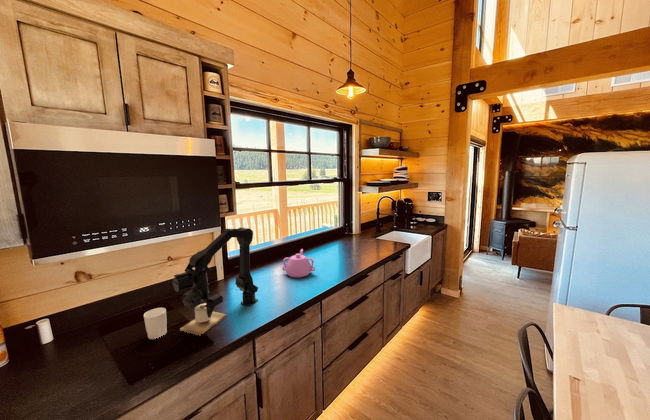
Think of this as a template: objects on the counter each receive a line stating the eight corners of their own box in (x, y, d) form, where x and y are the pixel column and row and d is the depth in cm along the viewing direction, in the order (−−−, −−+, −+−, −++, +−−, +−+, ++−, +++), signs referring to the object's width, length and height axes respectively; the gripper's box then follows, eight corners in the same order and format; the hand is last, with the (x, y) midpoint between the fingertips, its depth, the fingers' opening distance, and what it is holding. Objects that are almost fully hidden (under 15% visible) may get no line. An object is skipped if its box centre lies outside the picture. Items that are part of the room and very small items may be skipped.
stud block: (208, 312, 129) (207, 302, 128) (226, 316, 125) (225, 305, 124) (180, 330, 114) (178, 319, 113) (199, 335, 110) (198, 324, 109)
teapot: (317, 267, 187) (317, 248, 185) (313, 279, 165) (312, 258, 163) (287, 266, 189) (286, 248, 187) (279, 279, 168) (278, 258, 166)
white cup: (164, 326, 117) (161, 305, 116) (171, 333, 112) (168, 311, 111) (143, 335, 111) (140, 313, 110) (150, 342, 106) (147, 319, 105)
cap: (203, 313, 123) (202, 301, 122) (214, 315, 121) (213, 303, 120) (192, 320, 117) (190, 308, 116) (203, 323, 115) (202, 311, 114)
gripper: (168, 287, 112) (172, 321, 115) (202, 294, 106) (206, 330, 108) (190, 277, 123) (193, 309, 125) (222, 283, 116) (225, 316, 118)
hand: (203, 316), depth 119 cm, fingers closed on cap, 6 cm apart
